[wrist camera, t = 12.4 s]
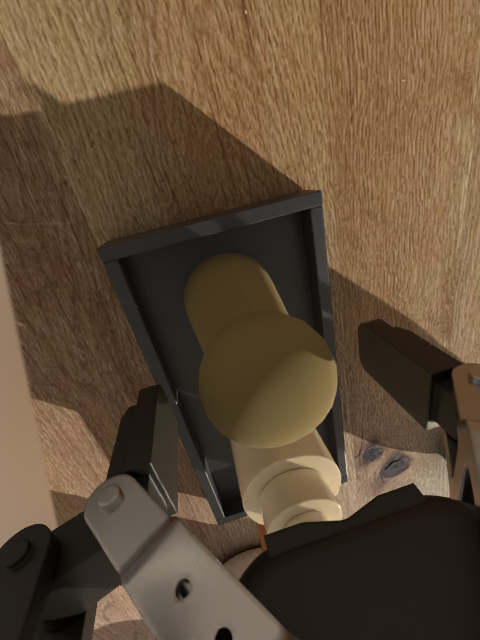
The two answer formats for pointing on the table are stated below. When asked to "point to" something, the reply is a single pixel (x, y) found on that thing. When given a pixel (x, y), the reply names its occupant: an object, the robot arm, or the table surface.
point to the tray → (178, 334)
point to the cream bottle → (288, 482)
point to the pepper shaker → (256, 355)
